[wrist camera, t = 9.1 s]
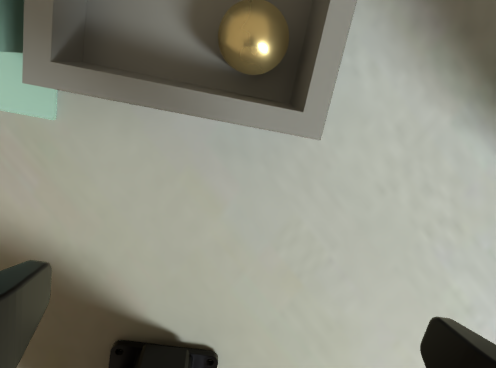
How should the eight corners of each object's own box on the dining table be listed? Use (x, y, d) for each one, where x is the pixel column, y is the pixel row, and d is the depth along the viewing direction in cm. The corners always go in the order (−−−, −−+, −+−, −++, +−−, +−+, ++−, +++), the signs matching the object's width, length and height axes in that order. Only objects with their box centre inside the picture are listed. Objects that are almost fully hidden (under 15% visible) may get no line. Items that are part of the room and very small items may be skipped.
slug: (274, 79, 18) (280, 81, 16) (213, 67, 18) (212, 67, 16) (288, 13, 17) (296, 7, 15) (224, -1, 17) (224, -10, 15)
